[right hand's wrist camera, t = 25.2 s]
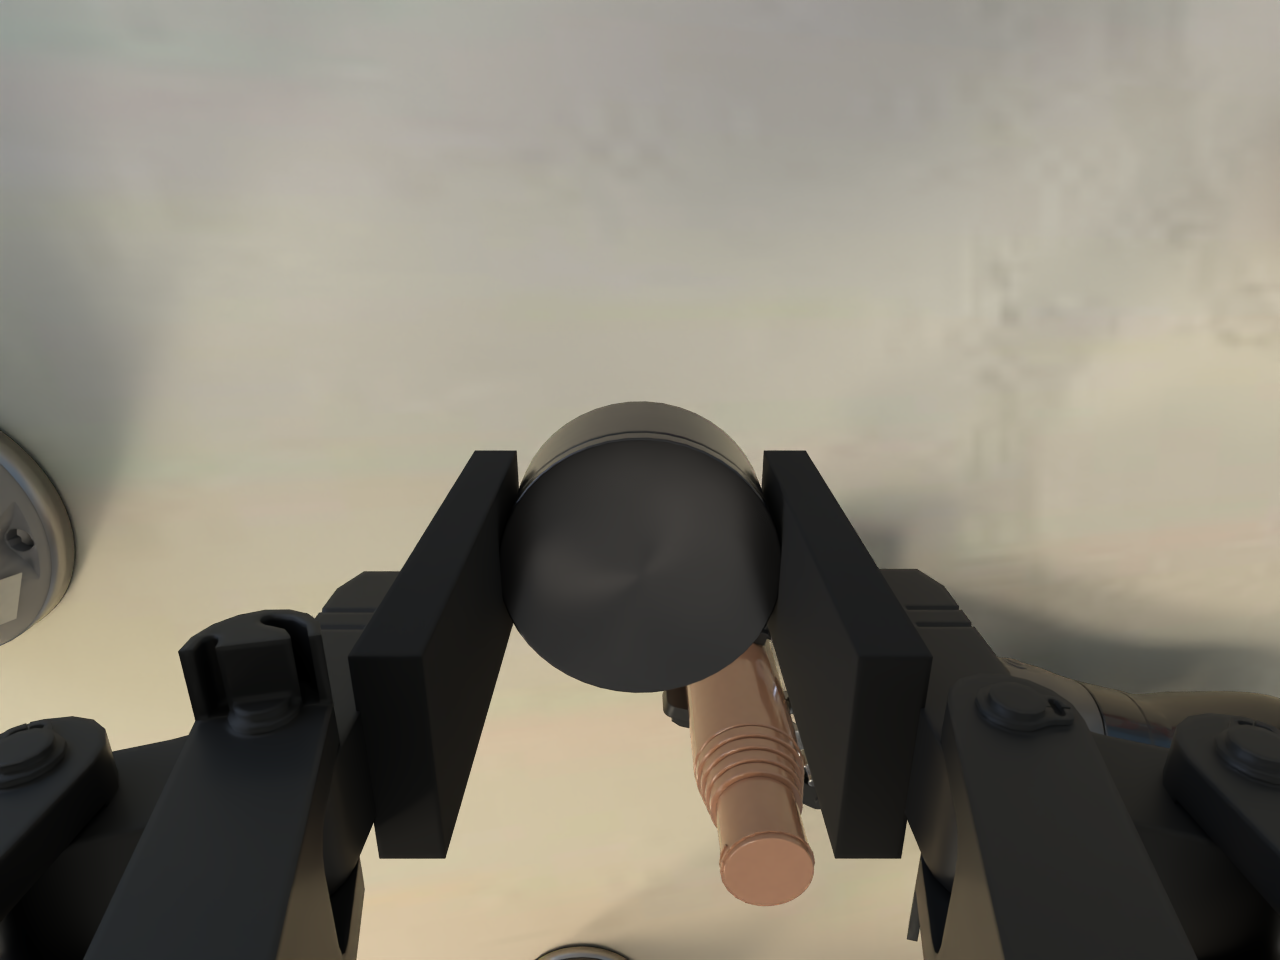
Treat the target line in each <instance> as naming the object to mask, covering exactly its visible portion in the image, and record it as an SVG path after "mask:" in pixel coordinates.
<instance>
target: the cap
mask: <svg viewBox="0 0 1280 960" xmlns="http://www.w3.org/2000/svg"><path fill="white" fill-rule="evenodd" d="M781 551H782V545H781V541H780V537H779V533H778V529H777V527H776V524H775V522H774V519H773V517H772V514H771V512H770V509H769V507H768V504H767V501H766V499H765V496H764V494H763V491H762V489H761V486H760V484H759V481H758V479H757V477H756V474H755V472H754V469H753V467H752V465H751V464H750V462H749V460H748V459H747V457H746V455H745V454H744V452H743V451H742V450H741V449H740V447H739V446H738V445H737V444H736V442H735V441H734V440H733V439H732V438H730V437H729V436H728V435H727V434H726V433H725V432H724V431H723V430H722V429H720V428H719V427H718V426H716V425H715V424H713V423H712V422H711V421H709V420H707V419H705V418H703V417H701V416H700V415H698V414H696V413H693V412H691V411H688V410H686V409H683V408H680V407H676V406H672V405H668V404H664V403H655V402H625V403H618V404H612V405H608V406H604V407H601V408H597V409H594V410H592V411H590V412H587V413H585V414H583V415H581V416H579V417H577V418H575V419H574V420H572V421H570V422H569V423H567V424H565V425H564V426H563V427H562V428H560V429H559V430H558V431H557V432H555V433H554V434H553V435H552V436H551V437H550V438H549V439H548V440H547V441H546V442H545V443H544V444H543V445H542V447H541V448H540V449H539V451H538V452H537V453H536V455H535V456H534V458H533V459H532V461H531V463H530V465H529V467H528V469H527V470H526V472H525V475H524V477H523V480H522V482H521V485H520V487H519V490H518V492H517V495H516V498H515V500H514V503H513V505H512V508H511V510H510V513H509V515H508V518H507V520H506V523H505V526H504V529H503V532H502V535H501V540H500V545H499V559H500V573H501V587H502V597H503V601H504V604H505V606H506V609H507V611H508V614H509V616H510V618H511V620H512V621H513V623H514V625H515V627H516V628H517V630H518V632H519V633H520V634H521V635H522V637H523V638H524V639H525V641H526V642H527V643H528V644H529V645H530V646H531V647H532V648H533V649H534V650H535V651H536V652H537V653H538V654H539V655H540V656H541V657H542V658H543V659H545V660H546V661H547V662H548V663H550V664H551V665H552V666H554V667H555V668H557V669H559V670H560V671H562V672H564V673H565V674H567V675H569V676H571V677H573V678H575V679H578V680H580V681H582V682H584V683H587V684H590V685H594V686H597V687H600V688H604V689H609V690H614V691H622V692H633V693H643V692H658V691H666V690H672V689H676V688H680V687H684V686H688V685H690V684H693V683H696V682H698V681H701V680H703V679H705V678H707V677H709V676H711V675H713V674H715V673H717V672H719V671H721V670H722V669H724V668H725V667H727V666H728V665H730V664H731V663H732V662H734V661H735V660H736V659H737V658H738V657H740V656H741V655H742V654H743V653H744V652H745V651H746V650H747V649H748V648H749V647H750V646H751V645H752V644H753V643H754V641H755V640H756V639H757V638H758V636H759V635H760V633H761V632H762V631H763V629H764V628H765V626H766V624H767V623H768V621H769V619H770V617H771V615H772V613H773V611H774V608H775V605H776V602H777V600H778V593H779V580H780V567H781Z"/></svg>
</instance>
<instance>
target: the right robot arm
mask: <svg viewBox="0 0 1280 960" xmlns="http://www.w3.org/2000/svg"><path fill="white" fill-rule="evenodd" d="M518 490H519V482H518V466H517V451H474V453H473V455H472V456H471V458H470V459H469V461H468V463H467V464H466V466H465V467H464V469H463V471H462V472H461V474H460V476H459V477H458V479H457V480H456V482H455V484H454V485H453V487H452V488H451V490H450V492H449V493H448V495H447V497H446V498H445V500H444V501H443V503H442V505H441V506H440V508H439V510H438V511H437V513H436V514H435V516H434V518H433V519H432V521H431V522H430V524H429V526H428V527H427V529H426V531H425V532H424V534H423V535H422V537H421V539H420V540H419V542H418V543H417V545H416V547H415V548H414V550H413V552H412V553H411V555H410V556H409V558H408V560H407V561H406V563H405V564H404V566H403V568H402V569H401V571H364V572H363V573H361V574H359V575H358V576H356V577H355V578H353V579H352V580H350V581H348V582H347V583H345V584H344V585H342V586H341V587H339V588H337V590H336V591H335V592H334V594H333V595H332V596H331V598H330V599H329V600H328V602H327V603H326V604H325V606H324V607H323V608H322V613H319V614H318V615H317V616H316V618H315V619H314V618H313V617H312V616H311V615H309V614H307V613H302V612H298V611H294V610H262V611H257V612H252V613H247V614H241V615H237V616H235V617H232V618H229V619H226V620H224V621H221V622H218V623H215V624H213V625H211V626H209V627H208V628H206V629H204V630H203V631H201V632H199V633H198V634H196V635H194V636H193V637H191V638H190V639H189V640H188V641H187V643H186V644H185V645H184V646H183V647H182V648H181V649H180V650H179V651H178V653H179V657H180V661H181V665H182V669H183V673H184V677H185V681H186V685H187V689H188V693H189V697H190V701H191V705H192V709H193V713H194V717H195V723H194V725H193V727H192V729H191V731H190V733H189V735H187V736H183V737H180V738H176V739H172V740H167V741H163V742H158V743H153V744H148V745H143V746H138V747H133V748H128V749H123V750H118V751H113V752H112V750H111V747H110V743H109V740H108V737H107V734H106V730H105V729H104V728H103V727H102V726H101V725H100V724H98V723H97V722H96V721H95V720H93V719H86V718H80V717H74V716H71V717H61V718H52V719H43V720H38V721H34V722H30V724H23V725H20V726H16V727H13V728H11V729H9V730H7V731H6V732H4V733H2V734H0V960H356V958H357V949H358V941H359V933H360V924H361V916H362V907H363V899H364V890H365V888H364V881H363V874H362V868H361V862H360V854H361V852H362V849H363V847H364V844H365V842H366V840H367V837H368V835H369V832H370V830H371V828H372V825H373V823H374V827H375V833H376V840H377V846H378V852H379V858H380V859H445V858H446V854H447V851H448V847H449V844H450V841H451V837H452V834H453V830H454V827H455V823H456V820H457V816H458V813H459V809H460V806H461V802H462V799H463V795H464V792H465V788H466V785H467V782H468V778H469V775H470V771H471V768H472V764H473V761H474V757H475V754H476V750H477V747H478V743H479V740H480V736H481V733H482V730H483V726H484V723H485V719H486V716H487V712H488V709H489V705H490V702H491V698H492V695H493V691H494V688H495V684H496V681H497V678H498V674H499V671H500V667H501V664H502V660H503V657H504V653H505V650H506V646H507V643H508V639H509V636H510V632H511V629H512V625H513V621H512V620H511V618H510V616H509V614H508V611H507V609H506V606H505V604H504V601H503V597H502V587H501V573H500V559H499V545H500V540H501V535H502V532H503V529H504V526H505V523H506V520H507V518H508V515H509V513H510V510H511V508H512V505H513V503H514V500H515V498H516V495H517V492H518ZM762 491H763V494H764V496H765V499H766V501H767V504H768V507H769V509H770V512H771V514H772V517H773V519H774V522H775V524H776V527H777V529H778V533H779V537H780V541H781V545H782V551H781V567H780V580H779V593H778V600H777V602H776V605H775V608H774V611H773V613H772V615H771V617H770V619H769V621H768V623H767V624H768V627H769V631H770V634H771V638H772V641H773V645H774V648H775V652H776V655H777V658H778V662H779V665H780V669H781V672H782V676H783V679H784V683H785V686H786V690H787V693H788V697H789V700H790V704H791V707H792V710H793V714H794V717H795V721H796V724H797V728H798V731H799V735H800V738H801V742H802V745H803V749H804V752H805V756H806V759H807V762H808V766H809V769H810V773H811V776H812V780H813V783H814V787H815V790H816V794H817V797H818V801H819V804H820V808H821V811H822V814H823V818H824V821H825V825H826V828H827V832H828V835H829V839H830V842H831V846H832V849H833V853H834V856H835V858H879V859H901V855H902V849H903V843H904V837H905V830H906V824H907V820H908V822H909V825H910V827H911V830H912V832H913V834H914V837H915V839H916V841H917V844H918V846H919V849H920V851H921V856H920V862H919V868H918V874H917V880H916V886H915V892H914V897H913V903H912V909H911V915H910V921H909V928H908V935H907V939H908V940H913V941H917V940H918V935H919V929H920V931H921V939H922V948H923V956H924V960H1280V730H1279V729H1277V728H1276V727H1274V726H1272V725H1270V724H1267V723H1264V722H1261V721H1258V720H1255V721H1254V720H1252V719H1251V718H1246V717H1241V716H1234V715H1225V714H1215V713H1205V714H1199V715H1193V716H1188V717H1187V718H1185V719H1184V720H1183V721H1182V722H1180V723H1179V724H1178V725H1177V726H1176V729H1175V732H1174V736H1173V739H1172V742H1171V746H1170V748H1165V747H1160V746H1155V745H1150V744H1145V743H1140V742H1135V741H1130V740H1125V739H1120V738H1115V737H1110V736H1106V735H1103V734H1099V733H1095V732H1091V731H1090V730H1089V728H1088V726H1087V724H1086V722H1085V720H1084V718H1083V717H1082V716H1081V714H1080V713H1079V712H1078V711H1077V709H1076V708H1075V707H1074V706H1073V704H1072V703H1070V702H1069V701H1067V700H1066V699H1064V698H1063V697H1062V696H1060V695H1059V694H1057V693H1056V692H1054V691H1053V690H1051V689H1049V688H1046V687H1044V686H1042V685H1039V684H1037V683H1035V682H1032V681H1030V680H1027V679H1023V678H1018V677H1014V676H1011V675H1010V673H1009V672H1008V671H1007V669H1006V668H1005V667H1004V665H1003V664H1002V663H1001V661H1000V660H999V659H998V657H997V656H996V655H995V653H994V652H993V651H992V649H991V648H990V647H989V645H988V644H987V643H986V641H985V640H984V639H983V637H982V636H981V635H980V634H979V632H978V631H977V630H976V628H975V627H971V622H970V620H969V619H968V618H967V616H966V615H965V614H964V612H963V611H962V610H959V606H958V604H957V603H956V602H955V600H954V599H953V598H952V596H951V595H950V594H949V592H948V591H947V590H946V588H945V587H944V586H943V585H941V584H940V583H938V582H937V581H935V580H933V579H932V578H930V577H929V576H927V575H925V574H924V573H922V572H921V571H919V570H918V569H879V568H878V567H877V565H876V564H875V562H874V560H873V559H872V557H871V555H870V554H869V552H868V551H867V549H866V547H865V546H864V544H863V543H862V541H861V539H860V538H859V536H858V534H857V533H856V531H855V530H854V528H853V526H852V525H851V523H850V522H849V520H848V518H847V517H846V515H845V513H844V512H843V510H842V509H841V507H840V505H839V504H838V502H837V501H836V499H835V497H834V496H833V494H832V492H831V491H830V489H829V488H828V486H827V484H826V483H825V481H824V480H823V478H822V476H821V475H820V473H819V471H818V470H817V468H816V467H815V465H814V463H813V462H812V460H811V459H810V457H809V455H808V454H807V452H806V451H764V458H763V474H762ZM74 558H75V548H74V538H73V532H72V528H71V524H70V520H69V517H68V515H67V512H66V509H65V507H64V505H63V503H62V500H61V498H60V496H59V495H58V493H57V491H56V489H55V488H54V486H53V484H52V483H51V481H50V480H49V479H48V477H47V476H46V474H45V473H44V472H43V470H42V469H41V468H40V467H39V466H38V464H37V463H36V462H35V461H34V460H33V459H32V458H31V457H30V456H29V455H28V454H27V452H26V451H24V450H23V449H22V448H21V447H20V446H19V445H18V444H17V443H16V442H15V441H13V440H12V439H11V438H9V437H8V436H7V435H6V434H4V433H3V432H2V431H0V646H1V645H3V644H5V643H7V642H9V641H11V640H13V639H14V638H16V637H18V636H19V635H21V634H22V633H23V632H25V631H26V630H27V629H29V628H30V627H32V626H33V625H34V624H36V623H37V622H38V621H40V620H41V619H42V618H44V617H45V616H46V615H47V614H49V613H50V612H51V611H52V610H53V609H54V607H55V606H56V605H57V604H58V603H59V601H60V600H61V598H62V597H63V595H64V594H65V592H66V590H67V588H68V585H69V583H70V580H71V577H72V572H73V568H74Z"/></svg>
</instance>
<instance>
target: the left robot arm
mask: <svg viewBox="0 0 1280 960" xmlns="http://www.w3.org/2000/svg"><path fill="white" fill-rule="evenodd" d="M767 639H769V640H772V638H771V634H770V631H769V627H768V624H766V626H765V628H764V629H763V631H762V632H761V633H760V635H759V636H758V638H757V639H756V640H755V641H754V643H755V644H759V645H763V646H765V643H766V640H767ZM772 643H773V641H772ZM998 659H999V660H1000V661H1001V663H1002V664H1003V665H1004V667H1005V668H1006V669H1007V671H1008V672H1009V673H1010V675H1011V676H1014V677H1018V678H1023V679H1027V680H1030V681H1032V682H1035V683H1037V684H1039V685H1042V686H1044V687H1046V688H1049V689H1051V690H1053V691H1054V692H1056V693H1057V694H1059V695H1060V696H1062V697H1063V698H1064V699H1066V700H1067V701H1069V702H1070V703H1072V704H1073V706H1074V707H1075V708H1076V709H1077V711H1078V712H1079V713H1080V714H1081V716H1082V717H1083V718H1084V720H1085V722H1086V724H1087V726H1088V728H1089V730H1090V731H1091V732H1095V733H1099V734H1103V735H1106V736H1110V737H1115V738H1120V739H1125V740H1130V741H1135V742H1140V743H1145V744H1150V745H1155V746H1160V747H1165V748H1170V746H1171V742H1172V739H1173V736H1174V732H1175V729H1176V726H1177V725H1178V724H1179V723H1180V722H1182V721H1183V720H1184V719H1185V718H1187V717H1188V716H1193V715H1199V714H1205V713H1215V714H1225V715H1234V716H1241V717H1246V718H1251V719H1252V720H1254V721H1255V720H1258V721H1261V722H1264V723H1267V724H1270V725H1272V726H1274V727H1276V728H1277V729H1279V730H1280V698H1277V697H1274V696H1269V695H1264V694H1258V693H1250V692H1236V691H1190V692H1158V693H1147V694H1130V693H1126V692H1123V691H1119V690H1115V689H1110V688H1106V687H1101V686H1097V685H1093V684H1089V683H1084V682H1080V681H1076V680H1072V679H1069V678H1065V677H1062V676H1060V675H1057V674H1054V673H1052V672H1049V671H1047V670H1045V669H1042V668H1039V667H1036V666H1033V665H1029V664H1025V663H1021V662H1020V661H1017V660H1015V659H1011V658H1000V657H998ZM784 695H785V698H786V701H787V705H788V708H789V712H790V714H793V710H792V707H791V704H790V700H789V697H788V693H787V691H784ZM663 711H664V713H665V714H666V715H667V716H669V717H671V718H672V722H674V723H676V724H677V725H679V726H682V727H686V728H690V726H689V716H688V706H687V696H686V686H684V687H680V688H676V689H672V690H666V691H664V692H663ZM792 722H793V721H792ZM793 726H794V729H795V733H796V736H797V739H798V743H799V746H800V750H801V753H802V757H803V767H804V787H803V800H802V802H803V804H805V805H807V806H810V807H812V808H814V809H821V808H820V804H819V801H818V797H817V794H816V790H815V787H814V783H813V780H812V776H811V773H810V769H809V766H808V762H807V759H806V756H805V752H804V749H803V745H802V742H801V738H800V735H799V731H798V728H797V724H796V723H794V722H793ZM538 960H627V959H625V958H624V957H622V956H620V955H618V954H616V953H614V952H611V951H608V950H605V949H600V948H595V947H570V948H564V949H560V950H556V951H553V952H551V953H548V954H546V955H544V956H543V957H541V958H539V959H538Z"/></svg>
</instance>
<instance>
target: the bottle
mask: <svg viewBox="0 0 1280 960" xmlns="http://www.w3.org/2000/svg"><path fill="white" fill-rule="evenodd" d="M686 696H687V706H688V716H689V726H690V737H691V747H692V757H693V767H694V775H695V779H696V782H697V787H698V790H699V792H700V794H701V796H702V799H703V801H704V803H705V805H706V807H707V810H708V812H709V814H710V816H711V819H712V821H713V823H714V825H715V826H716V827H717V829H718V837H719V845H720V859H719V865H720V873H721V878H722V882H723V883H724V885H725V887H726V888H727V890H728V891H729V892H730V893H731V894H733V895H734V896H735V897H736V898H738V899H740V900H742V901H744V902H745V903H749V904H753V905H758V906H774V905H779V904H783V903H786V902H789V901H791V900H793V899H795V898H796V897H798V896H799V895H801V894H802V893H803V892H804V891H805V890H806V889H807V888H808V886H809V884H810V883H811V881H812V878H813V874H814V864H815V860H814V854H813V851H812V849H811V848H810V846H809V844H808V841H807V838H806V834H805V830H804V826H803V822H802V818H801V813H802V807H803V802H802V800H803V787H804V767H803V757H802V753H801V750H800V746H799V743H798V739H797V736H796V733H795V729H794V726H793V722H792V719H791V715H790V712H789V708H788V705H787V701H786V698H785V695H784V691H783V688H782V684H781V681H780V677H779V674H778V670H777V667H776V664H775V660H774V657H773V653H772V650H771V646H770V643H769V639H767V640H766V643H765V646H763V645H759V644H755V643H753V644H752V645H751V646H750V647H749V648H748V649H747V650H746V651H745V652H744V653H743V654H742V655H741V656H740V657H738V658H737V659H736V660H735V661H734V662H732V663H731V664H730V665H728V666H727V667H725V668H724V669H722V670H721V671H719V672H717V673H715V674H713V675H711V676H709V677H707V678H705V679H703V680H701V681H698V682H696V683H693V684H690V685H688V686H686Z"/></svg>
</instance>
